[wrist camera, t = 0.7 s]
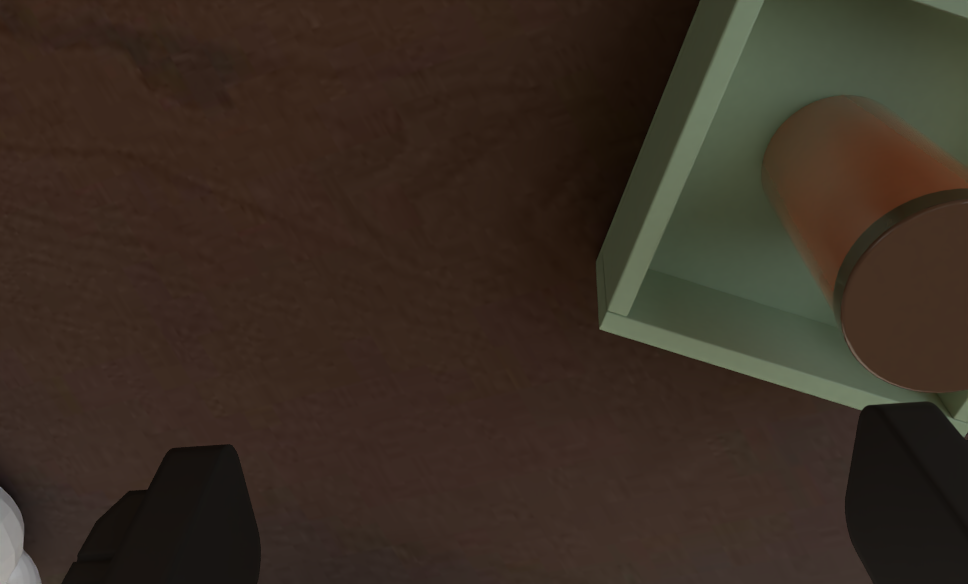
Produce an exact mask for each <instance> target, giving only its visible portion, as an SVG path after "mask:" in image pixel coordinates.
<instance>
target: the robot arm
mask: <svg viewBox="0 0 968 584" xmlns="http://www.w3.org/2000/svg"><path fill="white" fill-rule="evenodd" d="M845 515H846V522H847V527H848V531H849V535H850V538H851V541H852V544H853V546H854V548H855V550H856V552H857V554H858V556H859V558H860V559H861V561H862V563H863V565H864V567H865V569H866V571H867V572H868V574H869V576H870V578H871V580H872V582H873V583H874V584H968V440H965V439H964V437H963V436H962V435H961V434H960V433H959V431H958V430H957V429H956V428H955V427H954V425H953V424H952V423H951V422H950V421H949V419H948V418H947V417H946V416H945V414H944V413H943V412H942V411H941V410H940V409H939V408H938V407H937V406H936V405H935V404H934V403H932V402H929V401H923V402H908V403H892V404H877V405H867V406H865V407H864V408H863V410H862V411H861V414H860V416H859V421H858V426H857V432H856V438H855V444H854V450H853V456H852V461H851V467H850V473H849V479H848V485H847V491H846V497H845ZM77 557H78V560H77V562H73V564H72V566H71V567H70V569H69V571H68V573H67V574H66V576H65V578H64V580H63V582H62V583H61V584H257V582H258V578H259V572H260V561H261V547H260V537H259V532H258V528H257V524H256V520H255V516H254V513H253V509H252V505H251V501H250V498H249V494H248V490H247V486H246V483H245V479H244V475H243V471H242V468H241V464H240V460H239V457H238V454H237V452H236V450H235V448H234V447H233V446H232V445H230V444H227V445H212V446H196V447H181V448H172V449H170V450H169V451H168V452H167V453H166V455H165V457H164V458H163V460H162V462H161V464H160V466H159V468H158V470H157V472H156V474H155V476H154V478H153V480H152V482H151V484H150V486H149V488H148V490H136V491H129V492H127V493H126V494H125V495H124V496H123V497H122V498H121V499H120V500H119V501H118V502H117V503H116V504H114V505H113V506H112V507H111V508H110V509H109V510H108V511H107V512H106V513H105V514H104V515H103V516H102V517H100V518H99V519H98V520H97V521H96V523H95V525H94V526H93V528H92V530H91V532H90V534H89V535H88V537H87V539H86V541H85V542H84V544H83V546H82V548H81V550H80V551H79V553H78V555H77Z"/></svg>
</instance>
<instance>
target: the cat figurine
mask: <svg viewBox="0 0 968 584" xmlns="http://www.w3.org/2000/svg"><path fill="white" fill-rule="evenodd" d="M23 540H24V522H23V518H22V515H21V511H20V510H19V508H18V506H17V505H16V503H15V502H14V500H13V499H12V498H11V497H10V495H9V494H8V493H7V492H6V491H4V490H3V489H2V488H1V487H0V584H41V579H40V576H39V572H38V569H37V567H36V566H35V564H34V562H33V560H32V559H31V557H30V556H29V555H28V554H27V553H26V552H25V551H24V550H23Z"/></svg>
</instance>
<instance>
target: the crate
mask: <svg viewBox="0 0 968 584" xmlns="http://www.w3.org/2000/svg"><path fill="white" fill-rule="evenodd" d="M839 95H855V96H863V97H867V98H871V99H873V100H876V101H878V102H880V103H882V104H884V105H885V106H887V107H888V108H890V109H891V110H892V111H894V112H895V113H896V114H898V115H899V116H900V117H902V118H903V119H904V120H906V121H907V122H908V123H910V124H911V125H913V126H914V127H915V128H917V129H918V130H919V131H921V132H922V133H923V134H925V135H926V136H927V137H929V138H930V139H931V140H933V141H934V142H935V143H937V144H938V145H939V146H941V147H942V148H943V149H945V150H946V151H947V152H949V153H950V154H951V155H953V156H954V157H955V158H957V159H958V160H960V161H961V162H962V163H964V164H965V165H966V166H968V0H700V2H699V5H698V7H697V10H696V12H695V15H694V17H693V20H692V22H691V25H690V27H689V30H688V32H687V35H686V37H685V40H684V42H683V45H682V47H681V50H680V52H679V55H678V57H677V60H676V62H675V65H674V67H673V70H672V72H671V75H670V77H669V80H668V82H667V85H666V87H665V90H664V92H663V95H662V97H661V100H660V102H659V105H658V107H657V110H656V112H655V115H654V117H653V120H652V122H651V125H650V127H649V130H648V133H647V135H646V138H645V140H644V143H643V145H642V148H641V150H640V153H639V155H638V158H637V160H636V163H635V165H634V168H633V170H632V173H631V175H630V178H629V180H628V183H627V185H626V188H625V190H624V193H623V195H622V198H621V200H620V203H619V205H618V208H617V210H616V213H615V215H614V218H613V220H612V223H611V225H610V228H609V230H608V233H607V235H606V238H605V240H604V243H603V245H602V248H601V250H600V253H599V255H598V258H597V260H596V277H597V295H598V314H599V329H600V330H603V331H607V332H610V333H613V334H616V335H620V336H623V337H626V338H629V339H633V340H636V341H639V342H642V343H646V344H649V345H652V346H655V347H658V348H662V349H665V350H668V351H671V352H675V353H678V354H681V355H684V356H688V357H691V358H694V359H697V360H701V361H704V362H707V363H710V364H713V365H717V366H720V367H723V368H726V369H730V370H733V371H736V372H739V373H743V374H746V375H749V376H752V377H756V378H759V379H762V380H765V381H768V382H772V383H775V384H778V385H781V386H785V387H788V388H791V389H794V390H798V391H801V392H804V393H807V394H811V395H814V396H817V397H820V398H823V399H827V400H830V401H833V402H836V403H840V404H843V405H846V406H849V407H853V408H856V409H859V410H863V408H864V407H865V406H867V405H877V404H892V403H908V402H923V401H929V402H932V403H934V404H935V405H936V406H937V407H938V408H939V409H940V410H941V411H942V412H943V413H944V414H945V416H946V417H947V418H948V419H949V421H950V422H951V423H952V424H953V425H954V427H955V428H956V429H957V430H958V431H959V433H960V434H961V435H962V436H963V437H964V436H965V435H966V434H967V432H968V390H963V391H958V392H948V393H924V392H917V391H911V390H907V389H903V388H899V387H897V386H894V385H892V384H889V383H887V382H885V381H883V380H881V379H879V378H877V377H875V376H874V375H873V374H871V373H870V372H869V371H867V370H866V369H865V368H864V367H863V366H862V365H861V364H860V363H859V362H858V361H857V360H856V358H855V357H854V356H853V354H852V353H851V351H850V350H849V348H848V346H847V345H846V343H845V341H844V339H843V337H842V335H841V334H840V332H839V330H838V327H837V324H836V321H835V317H834V314H833V312H832V310H831V309H830V307H829V305H828V304H827V302H826V300H825V299H824V297H823V295H822V293H821V292H820V290H819V288H818V287H817V285H816V283H815V282H814V280H813V278H812V276H811V275H810V273H809V271H808V270H807V268H806V266H805V265H804V263H803V261H802V259H801V258H800V256H799V254H798V253H797V251H796V249H795V248H794V246H793V244H792V242H791V241H790V239H789V237H788V236H787V234H786V232H785V231H784V229H783V227H782V225H781V224H780V222H779V220H778V219H777V217H776V215H775V214H774V212H773V210H772V208H771V207H770V205H769V203H768V201H767V199H766V197H765V195H764V192H763V188H762V182H761V167H762V161H763V157H764V153H765V151H766V148H767V146H768V144H769V142H770V140H771V138H772V136H773V135H774V134H775V132H776V131H777V129H778V128H779V127H780V126H781V125H782V124H783V123H784V122H785V121H786V120H787V119H788V118H789V117H790V116H791V115H793V114H794V113H795V112H797V111H798V110H800V109H801V108H803V107H805V106H807V105H808V104H810V103H813V102H815V101H818V100H820V99H824V98H828V97H832V96H839Z"/></svg>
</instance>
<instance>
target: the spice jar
mask: <svg viewBox="0 0 968 584" xmlns="http://www.w3.org/2000/svg"><path fill="white" fill-rule="evenodd" d="M761 182H762V188H763V192H764V195H765V197H766V199H767V201H768V203H769V205H770V207H771V208H772V210H773V212H774V214H775V215H776V217H777V219H778V220H779V222H780V224H781V225H782V227H783V229H784V231H785V232H786V234H787V236H788V237H789V239H790V241H791V242H792V244H793V246H794V248H795V249H796V251H797V253H798V254H799V256H800V258H801V259H802V261H803V263H804V265H805V266H806V268H807V270H808V271H809V273H810V275H811V276H812V278H813V280H814V282H815V283H816V285H817V287H818V288H819V290H820V292H821V293H822V295H823V297H824V299H825V300H826V302H827V304H828V305H829V307H830V309H831V310H832V312H833V314H834V317H835V321H836V324H837V327H838V330H839V332H840V334H841V335H842V337H843V339H844V341H845V343H846V345H847V346H848V348H849V350H850V351H851V353H852V354H853V356H854V357H855V358H856V360H857V361H858V362H859V363H860V364H861V365H862V366H863V367H864V368H865V369H866V370H867V371H869V372H870V373H871V374H873V375H874V376H875V377H877V378H879V379H881V380H883V381H885V382H887V383H889V384H892V385H894V386H897V387H899V388H903V389H907V390H911V391H917V392H924V393H948V392H958V391H963V390H968V166H966V165H965V164H964V163H962V162H961V161H960V160H958V159H957V158H955V157H954V156H953V155H951V154H950V153H949V152H947V151H946V150H945V149H943V148H942V147H941V146H939V145H938V144H937V143H935V142H934V141H933V140H931V139H930V138H929V137H927V136H926V135H925V134H923V133H922V132H921V131H919V130H918V129H917V128H915V127H914V126H913V125H911V124H910V123H908V122H907V121H906V120H904V119H903V118H902V117H900V116H899V115H898V114H896V113H895V112H894V111H892V110H891V109H890V108H888V107H887V106H885V105H884V104H882V103H880V102H878V101H876V100H873V99H871V98H867V97H863V96H855V95H839V96H832V97H828V98H824V99H820V100H818V101H815V102H813V103H810V104H808V105H807V106H805V107H803V108H801V109H800V110H798V111H797V112H795V113H794V114H793V115H791V116H790V117H789V118H788V119H787V120H786V121H785V122H784V123H783V124H782V125H781V126H780V127H779V128H778V129H777V131H776V132H775V134H774V135H773V136H772V138H771V140H770V142H769V144H768V146H767V148H766V151H765V153H764V157H763V161H762V167H761Z"/></svg>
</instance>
